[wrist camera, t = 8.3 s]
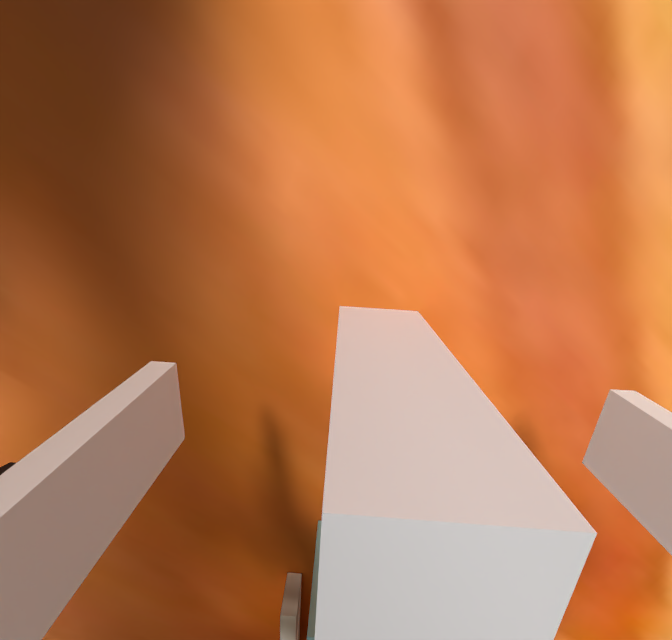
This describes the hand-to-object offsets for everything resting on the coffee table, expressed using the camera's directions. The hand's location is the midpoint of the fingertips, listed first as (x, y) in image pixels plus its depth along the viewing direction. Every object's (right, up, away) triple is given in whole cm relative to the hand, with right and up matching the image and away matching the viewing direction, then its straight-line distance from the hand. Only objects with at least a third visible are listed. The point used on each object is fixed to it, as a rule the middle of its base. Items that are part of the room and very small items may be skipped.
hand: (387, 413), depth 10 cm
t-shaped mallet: (0, -6, +9) cm, 11 cm away
